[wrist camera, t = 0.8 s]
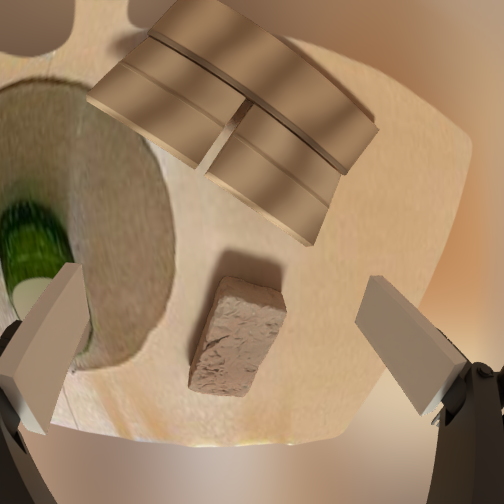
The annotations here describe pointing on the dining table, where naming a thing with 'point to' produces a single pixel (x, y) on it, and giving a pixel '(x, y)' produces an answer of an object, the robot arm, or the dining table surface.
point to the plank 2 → (276, 175)
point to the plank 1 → (167, 100)
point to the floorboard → (268, 77)
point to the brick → (236, 337)
